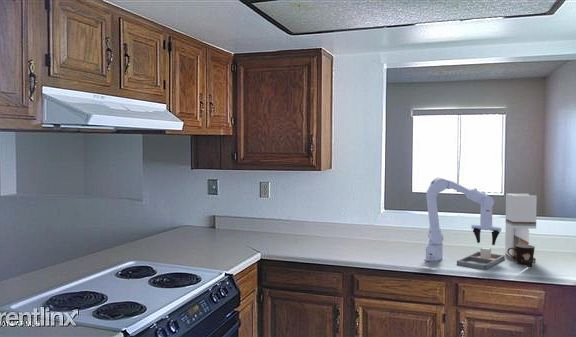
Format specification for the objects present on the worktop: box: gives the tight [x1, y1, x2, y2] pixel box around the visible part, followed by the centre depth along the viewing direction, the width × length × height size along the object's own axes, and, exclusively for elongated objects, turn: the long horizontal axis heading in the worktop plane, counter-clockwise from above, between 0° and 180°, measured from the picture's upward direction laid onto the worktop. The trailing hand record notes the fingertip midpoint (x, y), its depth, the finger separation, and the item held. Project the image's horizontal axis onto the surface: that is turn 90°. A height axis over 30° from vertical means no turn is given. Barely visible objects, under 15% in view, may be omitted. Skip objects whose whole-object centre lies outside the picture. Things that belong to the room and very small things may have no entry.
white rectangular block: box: [479, 246, 492, 259], centre depth 229 cm, size 4×4×6 cm
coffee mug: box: [507, 244, 536, 268], centre depth 221 cm, size 12×9×10 cm
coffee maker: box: [504, 193, 538, 263], centre depth 232 cm, size 11×11×35 cm
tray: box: [456, 251, 506, 271], centre depth 224 cm, size 28×14×3 cm, turn 136°
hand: (485, 243), depth 229 cm, fingers open, 7 cm apart
